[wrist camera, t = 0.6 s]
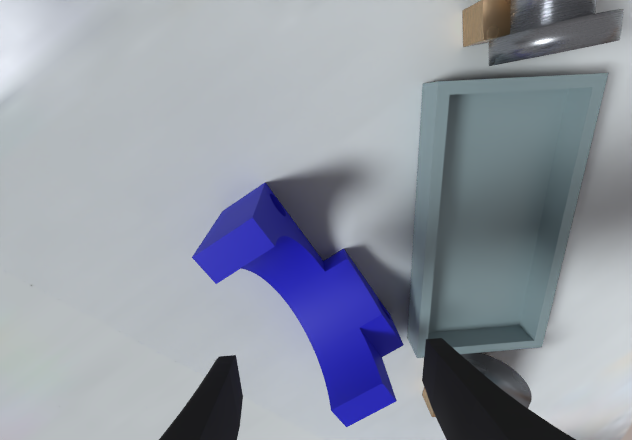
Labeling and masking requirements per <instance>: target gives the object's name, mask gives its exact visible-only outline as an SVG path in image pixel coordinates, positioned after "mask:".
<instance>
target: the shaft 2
mask: <svg viewBox="0 0 632 440" xmlns="http://www.w3.org/2000/svg"><path fill="white" fill-rule="evenodd" d="M595 8H596V0H481V1H479V2H477V3H475V4H474V5H472V6H470V7H468V8H466V9H464V10H463V47H466V46H471V45H476V44H481V43H486V42H489V66H492V65H497V64H503V63H508V62H513V61H518V60H523V59H529V58H534V57H539V56H544V55H549V54H554V53H559V52H564V51H569V50H574V49H579V48H584V47H589V46H594V45H599V44H604V43H608V42H613V41H618V40H620V33H621V26H622V18H623V9H620V10H613V11H607V12H602V13H597V14H595Z"/></svg>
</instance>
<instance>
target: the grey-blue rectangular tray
mask: <svg viewBox="0 0 632 440" xmlns="http://www.w3.org/2000/svg"><path fill="white" fill-rule="evenodd" d="M607 77H608V73H598V74H577V75H557V76H537V77H517V78H497V79H477V80H457V81H438V82H431V83H424V84H423V89H422V105H421V122H420V138H419V154H418V171H417V187H416V203H415V220H414V236H413V252H412V269H411V285H410V301H409V318H408V334H407V338H408V340H409V342H410V344H411V346H412V348H413V351H414V353H415V355H416V357H417V358H423V357H424V355H425V344H426V339H435V338H442V339H443V340H445V341H446V342H447V343H448V344H449V345H450V346H451V347H453V348H454V349H455V350H456V351H457V352H458V353H459V354H469V353H481V352H492V351H504V350H516V349H527V348H539V347H542V344H543V340H544V336H545V332H546V328H547V324H548V320H549V316H550V312H551V307H552V303H553V299H554V295H555V291H556V287H557V283H558V279H559V274H560V270H561V266H562V262H563V258H564V254H565V250H566V246H567V241H568V237H569V233H570V229H571V225H572V221H573V217H574V213H575V208H576V204H577V200H578V196H579V192H580V188H581V184H582V180H583V175H584V171H585V167H586V163H587V159H588V155H589V151H590V147H591V142H592V138H593V134H594V130H595V126H596V122H597V118H598V114H599V110H600V105H601V101H602V97H603V93H604V89H605V85H606V81H607Z"/></svg>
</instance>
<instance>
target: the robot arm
mask: <svg viewBox="0 0 632 440" xmlns="http://www.w3.org/2000/svg"><path fill="white" fill-rule="evenodd" d="M422 381H423V384H424V387H425V390H426V393H427V396H428V399H429V401H430V404H431V407H432V409H433V412H434V414H435V416H436V418H437V420H438V422H439V424H440V426H441V429H442V431H443V433H444V435H445V437H446V439H447V440H576V439H574V438H572V437H571V436H569V435H567V434H566V433H564V432H562V431H561V430H559V429H558V428H556V427H554V426H553V425H551V424H550V423H548V422H547V421H545V420H544V419H542V418H541V417H539V416H538V415H536V414H535V413H533V412H532V411H531V410H529V409H528V408H526V407H525V406H523V405H522V404H521V403H519V402H518V401H517V400H515V399H514V398H513V397H511V396H510V395H509V394H507V393H506V392H505V391H503V390H502V389H501V388H500V387H498V386H497V385H496V384H495V383H493V382H492V381H491V380H490V379H488V378H487V377H486V376H485V375H484V374H482V373H481V372H480V371H479V370H478V369H476V368H475V367H474V366H473V365H472V364H471V363H470V362H468V361H467V360H466V359H465V358H464V357H463V356H462V355H460V354H459V353H458V352H457V351H456V350H455V349H454V348H453V347H451V346H450V345H449V344H448V343H447V342H446V341H445V340H443V339H442V338H435V339H426V344H425V355H424V367H423V378H422ZM242 399H243V395H242V389H241V383H240V377H239V371H238V366H237V360H236V355H233V356H221V357H218V359H217V360H216V361H215V363H214V364H213V366H212V368H211V369H210V371H209V372H208V374H207V375H206V377H205V378H204V380H203V381H202V383H201V384H200V386H199V387H198V389H197V390H196V392H195V393H194V394H193V396H192V397H191V399H190V400H189V401H188V403H187V404H186V406H185V407H184V408H183V410H182V411H181V412H180V414H179V415H178V416H177V418H176V419H175V420H174V421H173V423H172V424H171V425H170V427H169V428H168V429H167V430H166V432H165V433H164V434H163V435H162V437H161V438H160V439H159V440H237V436H238V431H239V426H240V418H241V409H242Z"/></svg>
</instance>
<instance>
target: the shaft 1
mask: <svg viewBox="0 0 632 440" xmlns="http://www.w3.org/2000/svg"><path fill="white" fill-rule="evenodd" d="M460 355H462V356H463V357H464V358H465V359H466V360H467V361H468V362H470V363H471V364H472V365H473V366H474V367H475V368H476V369H478V370H479V371H480V372H481V373H482V374H484V375H485V376H486V377H487V378H488V379H490V380H491V381H492V382H493V383H495V384H496V385H497V386H498V387H500V388H501V389H502V390H503V391H505V392H506V393H507V394H509V395H510V396H511V397H513V398H514V399H515V400H517V401H518V402H519V403H521V404H522V405H523V406H525V407H526V408H528V407H529V404H530V402H531V392H530V389H529V387H528V385H527V383H526V382H525V381H524V379H523V378H522V377H521V376H520V375H519V374H518V373H517V372H516V371H515V370H513V369H512V368H511V367H509V366H508V365H506V364H505V363H503V362H501V361H500V360H498V359H495V358H493V357H491V356H488V355H485V354H481V353H469V354H460ZM422 395H423V398H424V400H425V402H426V405H427V407H428V409H429V411H430V414H431V416H432V417H436V416H435V414H434V412H433V409H432V407H431V404H430V401H429V399H428V396H427V393H426V390H425V387H424V391H423V394H422Z"/></svg>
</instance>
